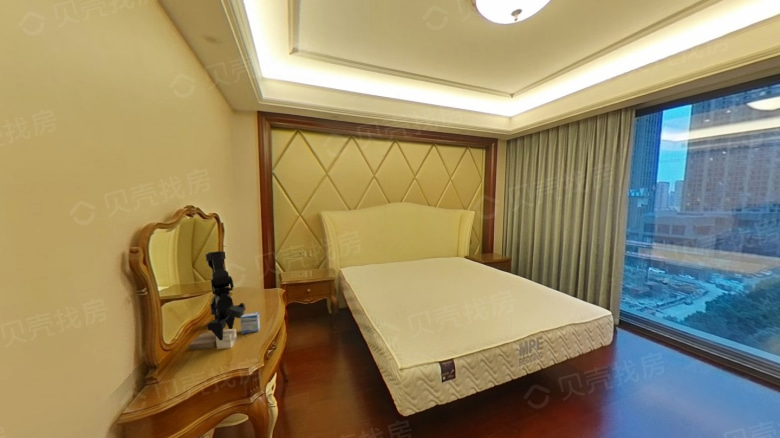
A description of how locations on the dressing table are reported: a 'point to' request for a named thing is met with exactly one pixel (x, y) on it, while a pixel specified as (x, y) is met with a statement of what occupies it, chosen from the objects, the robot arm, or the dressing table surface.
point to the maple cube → (227, 339)
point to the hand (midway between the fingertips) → (226, 334)
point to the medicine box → (250, 323)
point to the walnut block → (204, 341)
